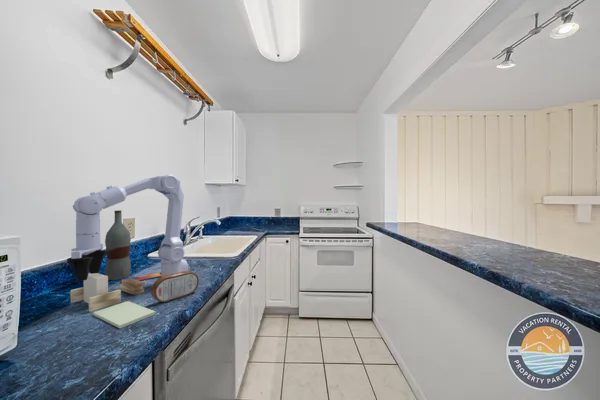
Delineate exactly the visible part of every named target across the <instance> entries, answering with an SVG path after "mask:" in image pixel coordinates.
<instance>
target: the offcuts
mask: <svg viewBox="0 0 600 400" xmlns="http://www.w3.org/2000/svg"><path fill="white" fill-rule="evenodd" d="M145 286H146V282H145V281H138V280H135V279H127V280H124V281H122V284H121V283H120V284H119V288H120V290H121V292H126V293H129V294H130V295H134V296H136V295H139V294H143V293H145V289H144V288H143V287H145Z"/></svg>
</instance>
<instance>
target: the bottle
mask: <svg viewBox="0 0 600 400" xmlns="http://www.w3.org/2000/svg"><path fill="white" fill-rule="evenodd" d="M104 243H105V245H104V246H105V250H107V253H106V254H105V255H106V263H105V270H104V273H105V275H106V276H108V281H118V279H119V280H121V279H122V278H123V279H125V278H129V276H130V274H131V270H132V265H131V259H130V251H131V250H130V249H131V233H130V231H129V229H128V228H127V227H126V226H125V224H124V223H123V220H122V210H121V209H120V210H114V222H113V224H112V226H111V227H110V228H109V230H108V231H107V232H106V235H105V239H104Z"/></svg>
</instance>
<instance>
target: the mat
mask: <svg viewBox="0 0 600 400" xmlns="http://www.w3.org/2000/svg"><path fill="white" fill-rule="evenodd" d="M154 315H156V311H155V310H154V309H150V308H147V307H146V306H145V307H144V306H142V305H140V304H136V303H134V302H132V301H129V300H127V301H123V302H120V303H117V304H114V305H111V306H108V307H104V308H101V309H98V310H95V311H92V316H94V317H96V318H98V319H100V320H101V321H104V322H106V323H108V324H110V325H112V326H114V327H116V328H118V329H122V328H124V327H127V326H130V325H133V324H135V323H137V322H140V321H142V320H145V319H147V318H149V317H152V316H154Z"/></svg>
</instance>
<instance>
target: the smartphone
mask: <svg viewBox="0 0 600 400" xmlns="http://www.w3.org/2000/svg"><path fill="white" fill-rule="evenodd" d="M160 277H161V271H160V272H159V271H158V272H154V273H153V272H152V273H147V274H142V275H137V276H131V277H126V278H123V279H120V284H122V281H124V280H127V279H135V280H138V281H142V282H145V281H148V280H156V279H158V278H160ZM155 278H156V279H155ZM144 280H145V281H144Z"/></svg>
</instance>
